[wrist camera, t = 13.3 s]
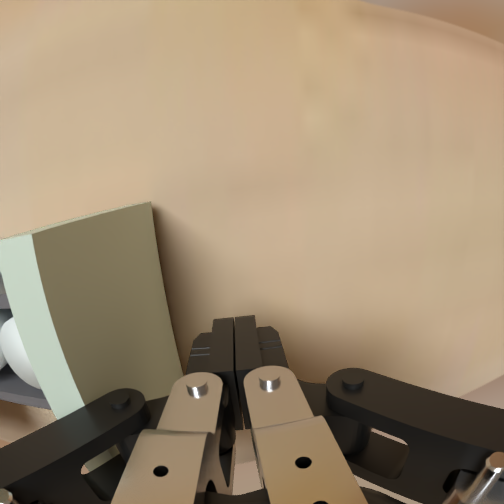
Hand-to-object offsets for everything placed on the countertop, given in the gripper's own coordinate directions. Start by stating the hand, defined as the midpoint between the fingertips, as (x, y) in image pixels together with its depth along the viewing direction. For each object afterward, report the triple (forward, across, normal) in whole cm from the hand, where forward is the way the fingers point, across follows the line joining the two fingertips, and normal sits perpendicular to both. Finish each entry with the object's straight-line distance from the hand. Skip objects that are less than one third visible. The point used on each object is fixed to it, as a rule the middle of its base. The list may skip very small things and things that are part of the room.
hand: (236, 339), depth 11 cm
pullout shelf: (+4, +10, 0) cm, 11 cm away
